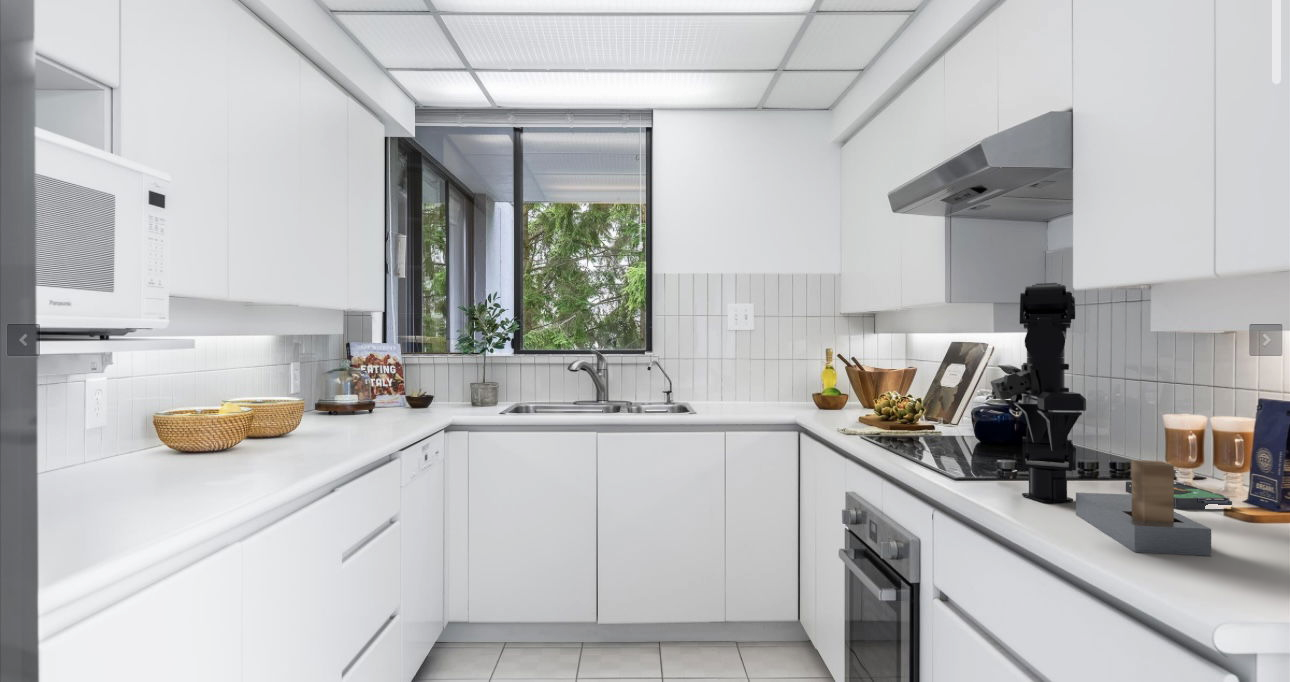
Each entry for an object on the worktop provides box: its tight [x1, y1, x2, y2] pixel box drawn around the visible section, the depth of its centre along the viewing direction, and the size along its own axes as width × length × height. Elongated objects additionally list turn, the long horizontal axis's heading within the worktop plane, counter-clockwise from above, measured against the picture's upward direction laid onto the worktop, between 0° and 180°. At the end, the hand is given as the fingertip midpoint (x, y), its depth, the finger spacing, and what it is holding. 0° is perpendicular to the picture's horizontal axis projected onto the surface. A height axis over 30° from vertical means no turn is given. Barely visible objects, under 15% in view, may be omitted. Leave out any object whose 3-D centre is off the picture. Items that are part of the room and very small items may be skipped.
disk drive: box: [1125, 480, 1233, 511], centre depth 135 cm, size 10×3×15 cm
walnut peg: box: [1131, 459, 1175, 522], centre depth 108 cm, size 4×4×12 cm
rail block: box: [1075, 492, 1212, 557], centre depth 113 cm, size 22×10×4 cm, turn 168°
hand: (1045, 446), depth 121 cm, fingers open, 9 cm apart
